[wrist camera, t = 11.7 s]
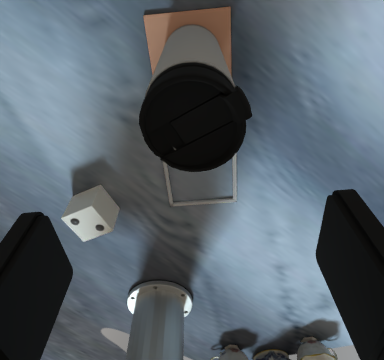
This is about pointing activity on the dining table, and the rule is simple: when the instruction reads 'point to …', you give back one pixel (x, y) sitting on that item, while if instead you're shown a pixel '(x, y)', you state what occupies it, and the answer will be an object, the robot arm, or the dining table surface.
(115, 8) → the dining table surface
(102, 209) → the die
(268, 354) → the chinaware
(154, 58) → the game board
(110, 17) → the dining table surface
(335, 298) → the robot arm
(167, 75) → the travel mug
